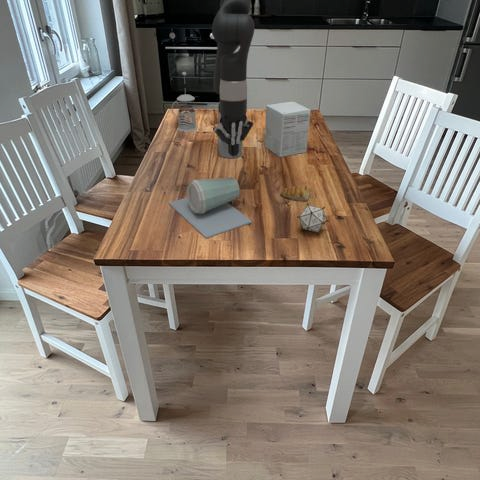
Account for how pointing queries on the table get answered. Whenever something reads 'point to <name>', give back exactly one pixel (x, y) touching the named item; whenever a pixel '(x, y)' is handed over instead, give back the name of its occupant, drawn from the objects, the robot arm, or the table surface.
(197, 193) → the disposable coffee cup
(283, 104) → the supplement box
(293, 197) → the pastry
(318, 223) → the game die
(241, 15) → the robot arm
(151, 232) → the table surface
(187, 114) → the french press
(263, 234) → the table surface
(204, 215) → the mat
